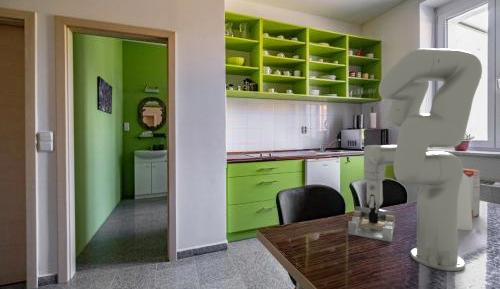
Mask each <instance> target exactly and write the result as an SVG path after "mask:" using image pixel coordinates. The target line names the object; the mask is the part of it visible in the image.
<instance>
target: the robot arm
mask: <svg viewBox="0 0 500 289" xmlns="http://www.w3.org/2000/svg"><path fill="white" fill-rule="evenodd" d="M482 73H483V66H482V63H481V60H480V58H478V56H476V55H475V54H474V53H471V52H470V51H465V50H462V49H461V50H460V49H453V48H452V49H450V48H425V47H424V48H416V49H413V50H411V51H409V52H407V53H406V54H405V55H404V56H403V57H402V58H400V60H398V61H397V62H396V63H395V64H394V65H393V66H392V67H391V68H390V69H389V70H388V71H387V72H386V73H385V74H384V76H383V77H382V79H381V80H380V83H379V86H378V94H379V96H380V97H381V99H383V100H387V101H388V100H390V101H391V103H390V107H389V108H388V112H387V114H386V120H387V121H388V122H389V123H390V124H392V125H393V126H396V127H398V128H399V131H398V135H397V141H396V144H386V145H385V144H383V145H382V144H381V145H379V144H372V145H371V144H370V145H365V146H364V148H363V180H365V181H366V204H367V205H368V206H369V207H368V208H369V218H368V220H369V222H371V223H378V221H379V220H378V213H377V209H380V207H381V206H382V204H383V201H384V196H383V194H384V193H383V181H385V180H386V179H385V178H386V177H385V174H386V170H385V166H393V167H392V168H393V174H394V178H395V179H396V181H397V182H398V183H400V184H401V185H404V186H409V187H416V186H417V187H418V186H421V187H420V189H419V191H418V194H417V201H416V202H417V203H416V247H415V248H412V249H411V250H410V256H411V258H412V259H413V260H414V261H416V262H417V263H419V264H422V265H423V266H427V267H429V268H432V269H436V270H441V271H445V272H446V271H447V272H455V271H456V272H459V271H462V270H464V269H465V268H466V262H465V260H464V259H462V257H460V256H459V255H458V253H459V251H458V249H459V248H458V246H459V244H458V243H459V236H458V235H459V233H458V232H459V229H458V199H459V189H460V184H461V181H462V177H463V169H464V166H463V162H462V160H461V159H460V158H459V157H458V156H457V155H455V154H453V153H451V152H447V151H438V150H437V151H428V149H449V148H454V147H457V146H459V145H460V144H462V142H463V140H464V138H465V135H466V132H467V127H468V123H469V119H470V115H471V111H472V105H473V101H474V98H475V94H476V91H477V89H478V87H479V84H480V81H481V78H482V75H483V74H482ZM429 82H443V84H442V85H441V86H440V87H439V88H438V89H437V91H436V92H435V94H434V96H433V98H432V102H431V107H430V111H429V113H419V111H420V108H421V106H422V104H423V101H424V99H425V96H426V94H427V92H428V89H429V86H430V85H429V84H430V83H429Z"/></svg>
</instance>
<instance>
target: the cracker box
mask: <svg viewBox="0 0 500 289" xmlns="http://www.w3.org/2000/svg"><path fill="white" fill-rule="evenodd" d="M463 173H464V174H465V176H466V177H467V178H468V180H469V183H470V197H471V212H472V218H474V217H477V216H480V207H481V206H480V200H481V199H480V198H481V194H480V192H481V190H480V189H481V188H480V186H481V170H480V169H472V168H463Z"/></svg>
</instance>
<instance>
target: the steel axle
mask: <svg viewBox="0 0 500 289" xmlns="http://www.w3.org/2000/svg"><path fill="white" fill-rule="evenodd" d="M354 210H355V211H361V217H364V219H369V207H364V206H355V207H354ZM377 213H378V221H384V222H385V221H386V215H392V216H394V210H386V209H380V208H379V209H377Z"/></svg>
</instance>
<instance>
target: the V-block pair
mask: <svg viewBox="0 0 500 289" xmlns="http://www.w3.org/2000/svg"><path fill="white" fill-rule="evenodd" d="M384 222H385V227H383V230H377V229H371V228H365V227H359V217H354V215H353V216H352V218H351V221H349V220H348V225H347V226H348V227H347V228H348V232H347V234H348V235H353V236H357V237H359V236H360V237H362V238H369V239H374V240H380V241H384V242H390V243H392V240H393V236H394V232H393V222H388V221H385V220H384Z"/></svg>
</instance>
